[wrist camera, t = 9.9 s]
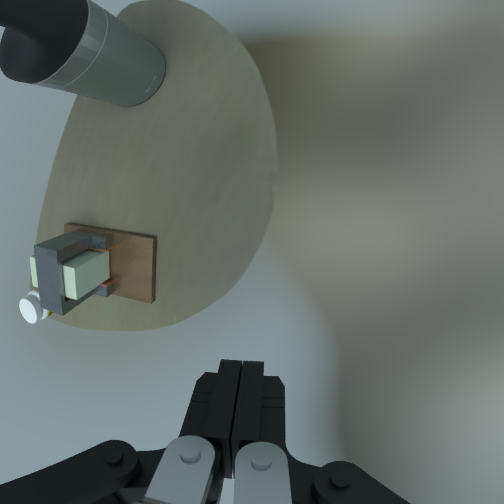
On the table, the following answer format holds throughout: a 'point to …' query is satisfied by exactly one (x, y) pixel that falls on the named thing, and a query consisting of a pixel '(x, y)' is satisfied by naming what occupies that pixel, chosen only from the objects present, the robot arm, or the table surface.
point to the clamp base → (120, 265)
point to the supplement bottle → (33, 307)
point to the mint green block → (80, 272)
